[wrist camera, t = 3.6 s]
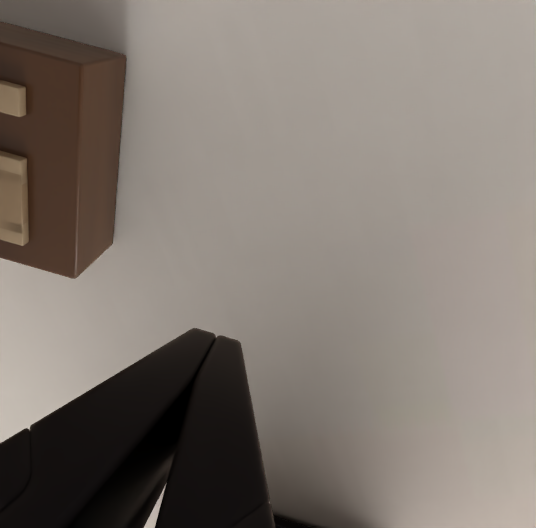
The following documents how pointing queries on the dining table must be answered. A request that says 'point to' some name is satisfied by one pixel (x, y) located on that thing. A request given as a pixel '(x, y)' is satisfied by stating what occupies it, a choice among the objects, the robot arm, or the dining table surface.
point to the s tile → (58, 149)
